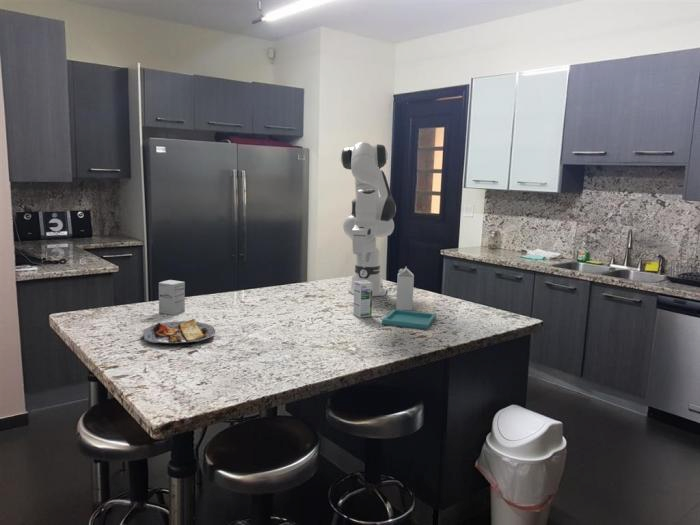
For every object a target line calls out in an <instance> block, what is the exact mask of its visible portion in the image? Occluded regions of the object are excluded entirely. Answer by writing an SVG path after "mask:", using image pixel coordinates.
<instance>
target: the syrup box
mask: <svg viewBox="0 0 700 525" xmlns="http://www.w3.org/2000/svg"><path fill="white" fill-rule="evenodd" d="M372 286H373V283H372V282H370V281H367V280H365V281H354V294H353V312H352V313H353V314H352V315H354V316H355V317H356V318H359V319H361V318H369V317H370V318H371V317H372V314H373V312H372V310H373V296H372Z"/></svg>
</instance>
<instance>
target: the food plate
mask: <svg viewBox="0 0 700 525" xmlns="http://www.w3.org/2000/svg"><path fill="white" fill-rule="evenodd" d="M142 332H143V338H144V339H143V340H145V341H146V342H150V343H156V344H158V343H159V344H168V345H173V344H174V345H176V344H177V345H178V344H188V343H196V342H201V341H203V340H206V339H208V338H211V337H213V336H214V335H215V334H217V333H216V329H215V328H214V327H213V326H212V325H211V324H208V323H205V322H200V321H196V319H194V318H192V319H190V320H184V321H177V320H176V321H168V322H162V323H161V322H157V324H153V325H151V326H148V327H146V328H145V329H144V330H143V331H142ZM182 340H184V341H182Z"/></svg>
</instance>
